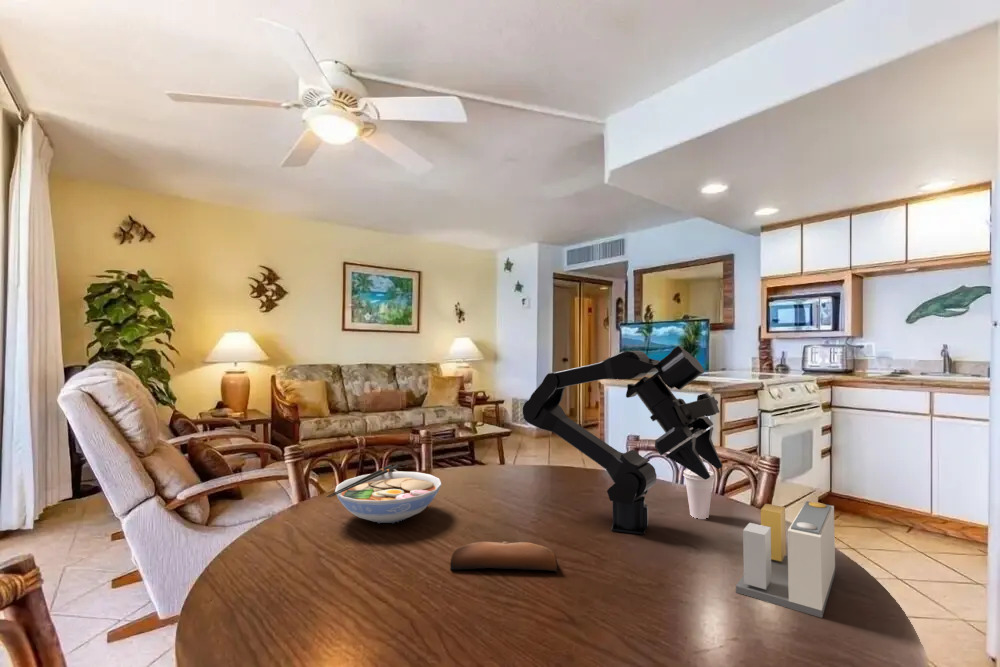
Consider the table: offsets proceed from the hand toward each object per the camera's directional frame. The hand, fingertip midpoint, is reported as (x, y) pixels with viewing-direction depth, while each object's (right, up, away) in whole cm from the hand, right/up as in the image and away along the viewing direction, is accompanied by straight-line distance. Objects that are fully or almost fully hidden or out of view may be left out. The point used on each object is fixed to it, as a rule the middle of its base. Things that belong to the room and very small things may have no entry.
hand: (714, 472), depth 91 cm
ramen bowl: (-64, -15, +16) cm, 68 cm away
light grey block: (-1, -12, -16) cm, 20 cm away
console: (+6, -13, -14) cm, 20 cm away
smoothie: (+4, -14, +16) cm, 22 cm away
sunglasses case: (-39, -15, -6) cm, 42 cm away
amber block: (+7, -12, -7) cm, 16 cm away
